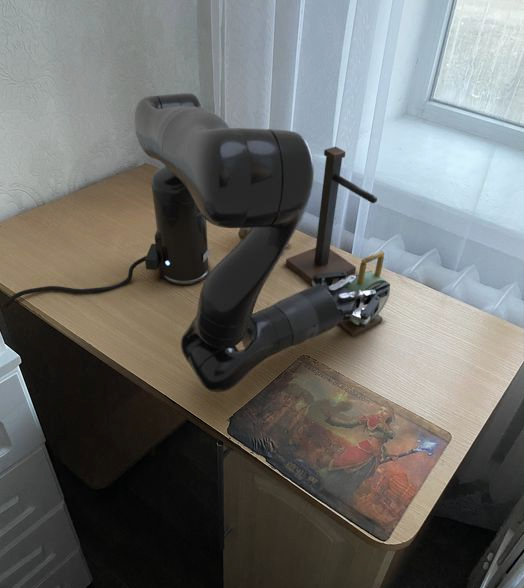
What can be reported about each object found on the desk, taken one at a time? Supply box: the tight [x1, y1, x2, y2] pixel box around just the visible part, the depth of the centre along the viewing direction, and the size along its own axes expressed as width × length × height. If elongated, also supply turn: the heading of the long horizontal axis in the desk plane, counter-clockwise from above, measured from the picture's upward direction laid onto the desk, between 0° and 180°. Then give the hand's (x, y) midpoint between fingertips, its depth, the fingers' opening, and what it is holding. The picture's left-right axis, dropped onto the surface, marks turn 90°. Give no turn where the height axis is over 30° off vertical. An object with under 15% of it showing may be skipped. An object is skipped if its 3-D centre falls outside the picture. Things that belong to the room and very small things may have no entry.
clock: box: [338, 251, 391, 336], centre depth 92 cm, size 9×4×14 cm, turn 126°
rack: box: [285, 146, 378, 286], centre depth 98 cm, size 16×10×24 cm, turn 36°
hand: (379, 281), depth 92 cm, fingers closed on clock, 3 cm apart
